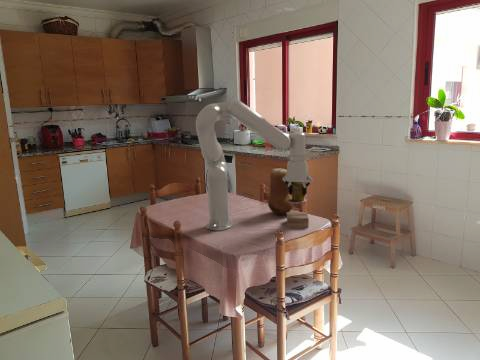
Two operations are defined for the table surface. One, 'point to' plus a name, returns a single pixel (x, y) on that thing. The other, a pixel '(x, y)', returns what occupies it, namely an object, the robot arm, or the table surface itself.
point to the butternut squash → (279, 193)
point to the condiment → (297, 193)
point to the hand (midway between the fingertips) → (297, 194)
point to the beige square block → (297, 220)
